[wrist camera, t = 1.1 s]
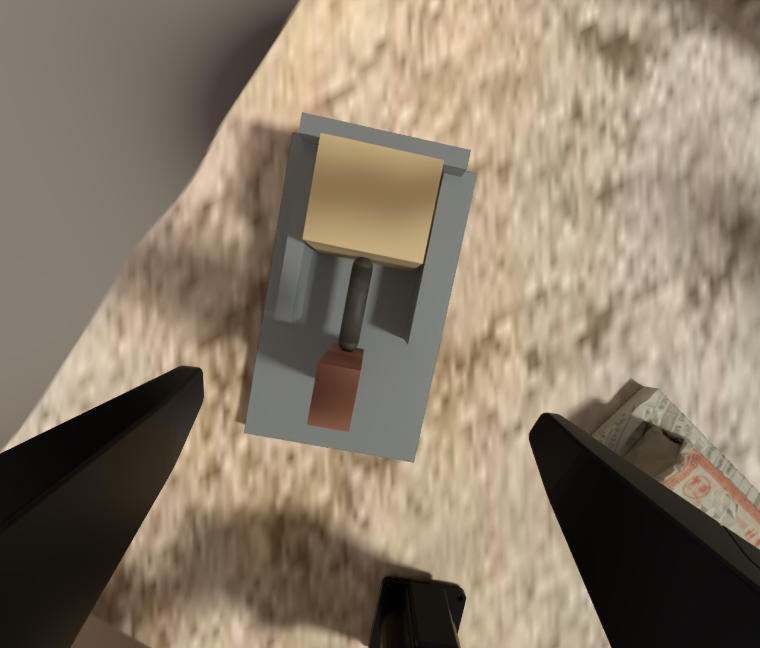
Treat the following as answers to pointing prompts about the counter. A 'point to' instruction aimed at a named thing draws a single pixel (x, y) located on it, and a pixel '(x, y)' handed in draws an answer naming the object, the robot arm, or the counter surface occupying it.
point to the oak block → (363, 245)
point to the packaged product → (682, 460)
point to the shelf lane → (381, 318)
